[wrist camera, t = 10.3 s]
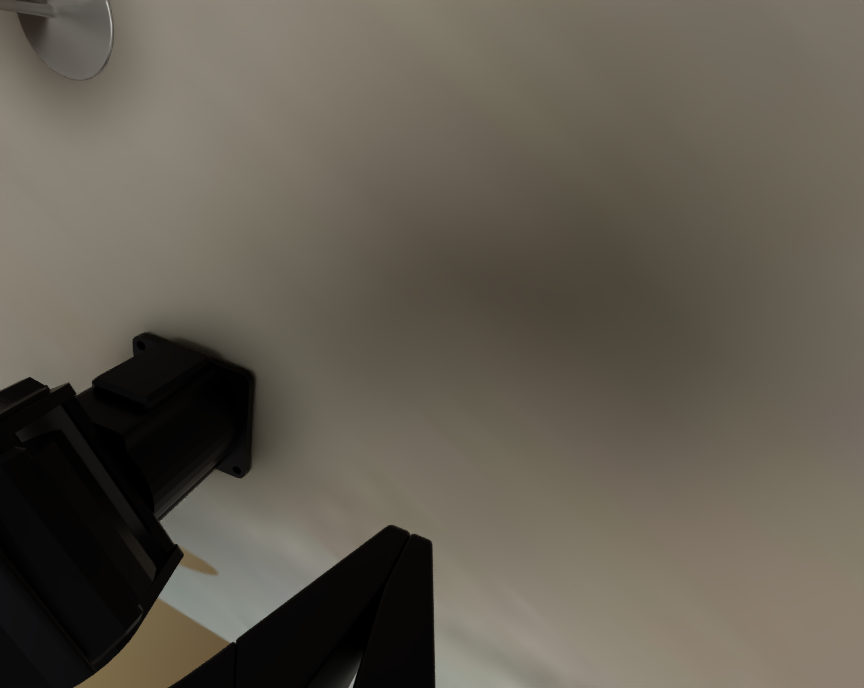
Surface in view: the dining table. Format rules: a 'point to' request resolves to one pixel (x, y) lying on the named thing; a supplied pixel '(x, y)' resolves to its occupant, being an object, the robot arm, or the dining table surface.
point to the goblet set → (67, 33)
